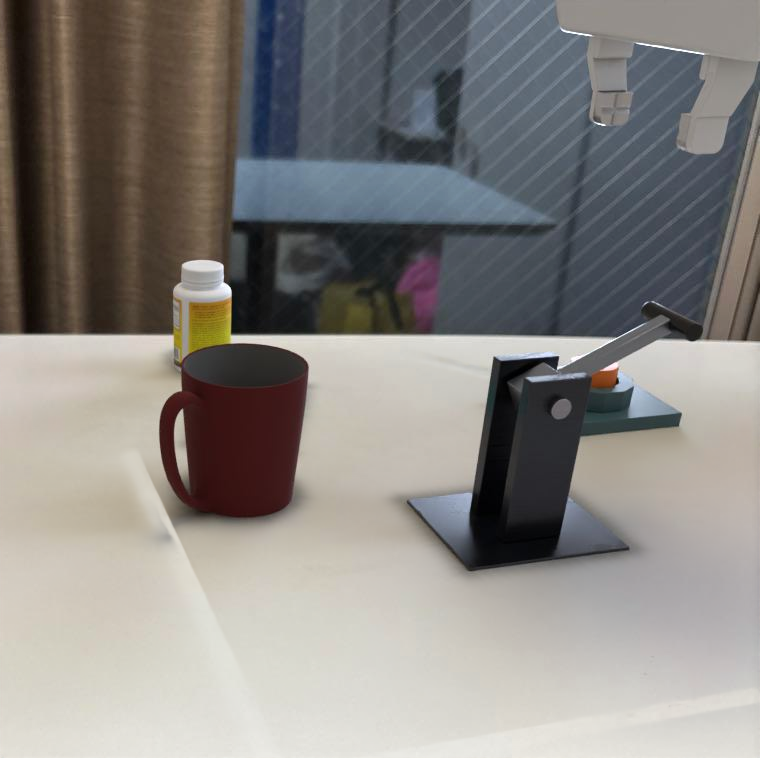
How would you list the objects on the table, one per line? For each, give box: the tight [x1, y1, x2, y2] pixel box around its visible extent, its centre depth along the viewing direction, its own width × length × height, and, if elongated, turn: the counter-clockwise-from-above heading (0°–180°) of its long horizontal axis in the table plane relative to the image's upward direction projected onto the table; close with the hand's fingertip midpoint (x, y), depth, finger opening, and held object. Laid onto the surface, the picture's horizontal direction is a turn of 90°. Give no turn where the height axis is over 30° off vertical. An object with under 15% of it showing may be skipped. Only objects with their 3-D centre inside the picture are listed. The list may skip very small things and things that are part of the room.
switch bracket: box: [406, 351, 630, 572], centre depth 71 cm, size 12×10×13 cm
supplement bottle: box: [172, 259, 233, 373], centre depth 100 cm, size 6×6×10 cm
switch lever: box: [507, 300, 704, 412], centre depth 69 cm, size 12×5×2 cm, turn 105°
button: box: [570, 354, 620, 388], centre depth 90 cm, size 4×4×2 cm
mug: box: [158, 342, 310, 519], centre depth 74 cm, size 12×9×11 cm
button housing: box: [557, 364, 683, 437], centre depth 92 cm, size 12×10×4 cm
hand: (649, 137), depth 57 cm, fingers open, 8 cm apart
